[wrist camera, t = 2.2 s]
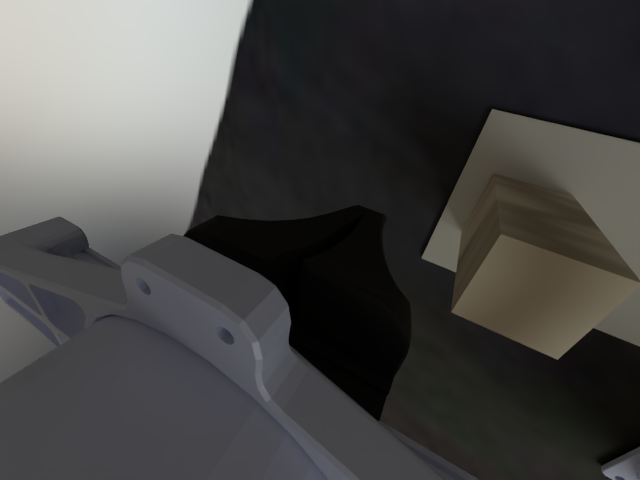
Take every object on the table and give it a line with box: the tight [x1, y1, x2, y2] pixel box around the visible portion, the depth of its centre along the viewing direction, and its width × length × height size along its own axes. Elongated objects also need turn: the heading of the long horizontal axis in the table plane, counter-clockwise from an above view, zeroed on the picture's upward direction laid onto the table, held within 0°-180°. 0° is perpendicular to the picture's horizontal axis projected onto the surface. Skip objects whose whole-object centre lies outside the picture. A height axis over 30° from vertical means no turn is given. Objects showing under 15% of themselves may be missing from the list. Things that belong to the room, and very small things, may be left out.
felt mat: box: [422, 109, 640, 346], centre depth 15 cm, size 15×10×1 cm, turn 79°
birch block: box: [451, 173, 640, 360], centre depth 13 cm, size 4×4×8 cm
